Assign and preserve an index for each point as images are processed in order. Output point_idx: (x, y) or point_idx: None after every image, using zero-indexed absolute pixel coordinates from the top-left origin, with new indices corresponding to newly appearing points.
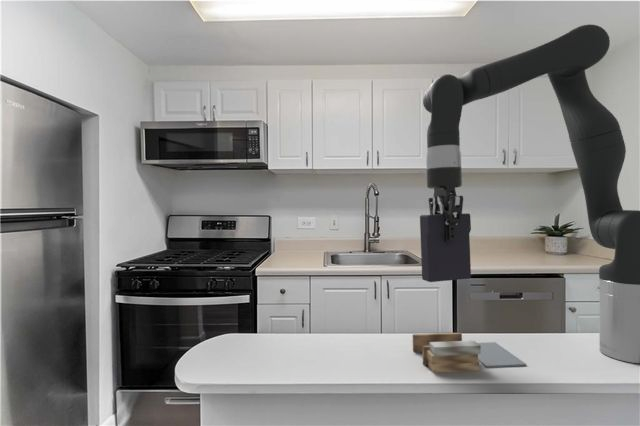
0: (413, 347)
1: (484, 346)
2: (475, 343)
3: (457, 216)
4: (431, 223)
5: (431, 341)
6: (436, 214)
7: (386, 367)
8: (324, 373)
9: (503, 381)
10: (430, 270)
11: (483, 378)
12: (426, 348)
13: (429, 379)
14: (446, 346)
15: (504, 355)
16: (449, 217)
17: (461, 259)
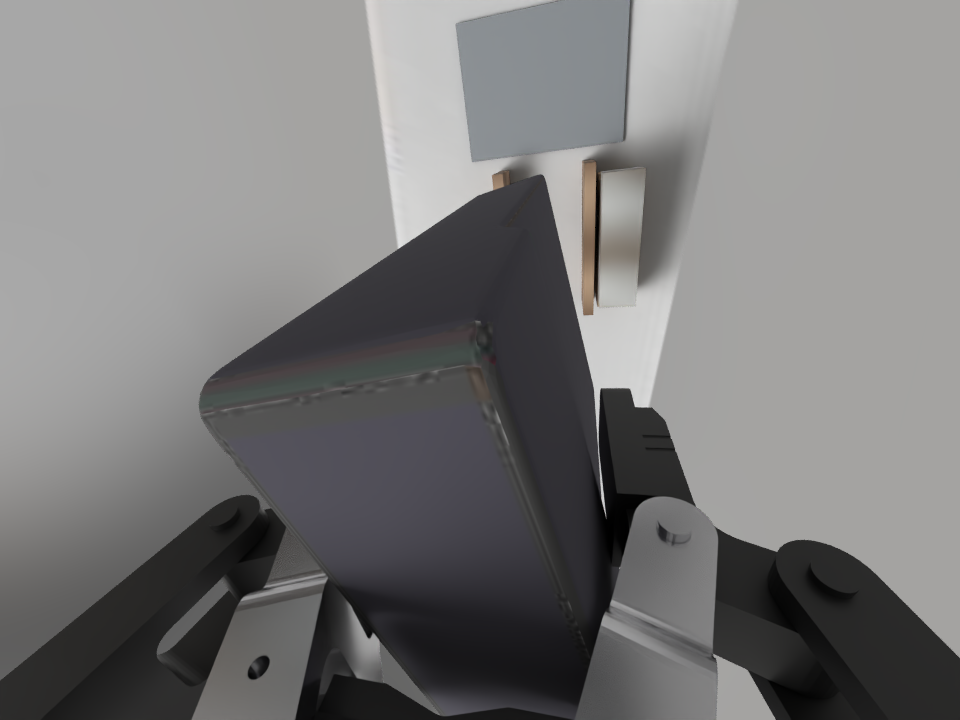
0: None
1: (491, 85)
2: (626, 177)
3: (843, 660)
4: None
5: None
6: (376, 675)
7: (591, 373)
8: None
9: (705, 124)
10: (594, 412)
11: (677, 175)
12: (592, 306)
13: (657, 305)
14: (635, 273)
15: (562, 40)
16: (825, 716)
17: (552, 260)
